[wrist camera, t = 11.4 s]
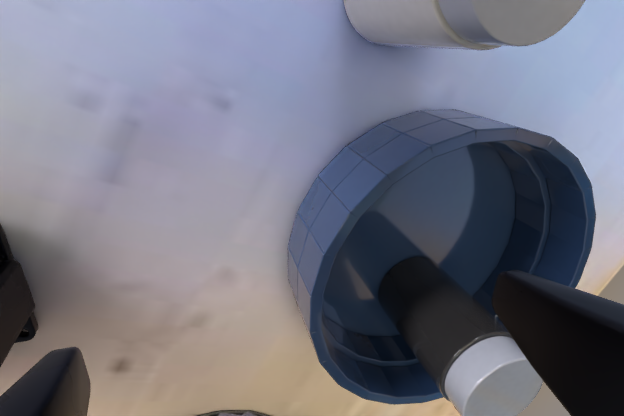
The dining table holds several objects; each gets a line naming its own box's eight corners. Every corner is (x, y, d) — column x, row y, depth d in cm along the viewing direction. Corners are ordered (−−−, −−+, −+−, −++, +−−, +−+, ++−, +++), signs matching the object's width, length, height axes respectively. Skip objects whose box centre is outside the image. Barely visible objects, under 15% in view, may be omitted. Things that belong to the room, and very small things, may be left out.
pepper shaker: (374, 320, 25) (452, 442, 17) (380, 261, 23) (471, 369, 15) (435, 308, 26) (532, 417, 19) (446, 251, 24) (559, 347, 17)
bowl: (287, 363, 25) (308, 434, 20) (283, 114, 18) (313, 138, 14) (493, 319, 29) (547, 370, 25) (551, 103, 22) (639, 120, 18)
